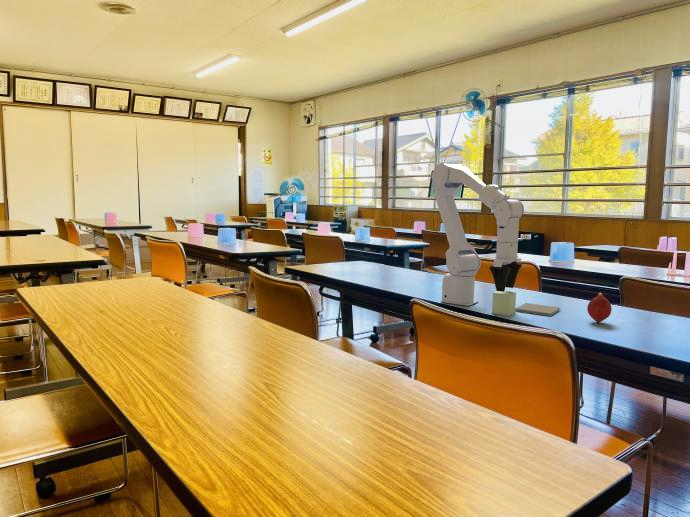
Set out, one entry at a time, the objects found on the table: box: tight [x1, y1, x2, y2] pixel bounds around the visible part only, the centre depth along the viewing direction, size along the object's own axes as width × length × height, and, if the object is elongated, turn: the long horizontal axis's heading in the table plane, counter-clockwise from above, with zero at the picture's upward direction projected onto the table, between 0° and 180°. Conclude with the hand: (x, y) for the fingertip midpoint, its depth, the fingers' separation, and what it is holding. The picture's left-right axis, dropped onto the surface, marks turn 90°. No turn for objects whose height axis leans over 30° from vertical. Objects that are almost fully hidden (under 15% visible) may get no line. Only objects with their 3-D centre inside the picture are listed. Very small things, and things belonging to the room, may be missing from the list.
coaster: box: [515, 302, 561, 317], centre depth 149 cm, size 10×10×1 cm
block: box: [491, 290, 517, 316], centre depth 146 cm, size 5×5×6 cm
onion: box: [586, 292, 613, 323], centre depth 136 cm, size 6×6×8 cm
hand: (504, 289), depth 145 cm, fingers open, 7 cm apart
